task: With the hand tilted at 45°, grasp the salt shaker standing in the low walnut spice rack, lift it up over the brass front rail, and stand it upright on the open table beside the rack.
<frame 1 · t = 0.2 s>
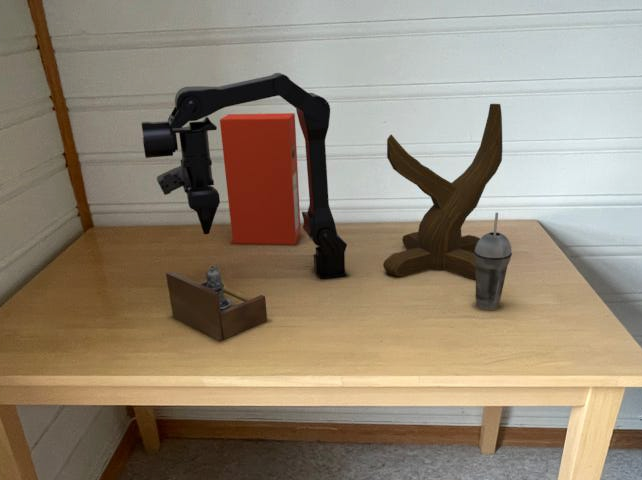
hand: (204, 227, 139), 15 cm above the table, tool pointing down, fingers open, 9 cm apart
file binder: (267, 240, 174), on the table
spice rack: (219, 319, 132), on the table
beverage cup: (487, 306, 132), on the table
wooden stand: (436, 263, 154), on the table
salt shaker: (219, 319, 132), resting in spice rack
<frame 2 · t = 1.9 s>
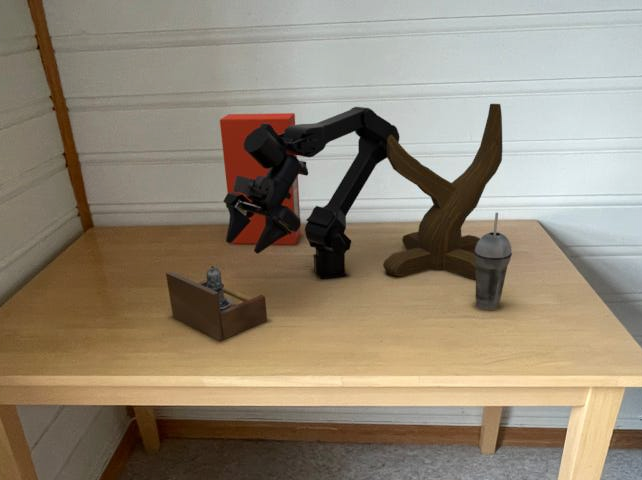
hand: (241, 247, 130), 13 cm above the table, tool tilted 45°, fingers open, 9 cm apart
nothing on the table moved.
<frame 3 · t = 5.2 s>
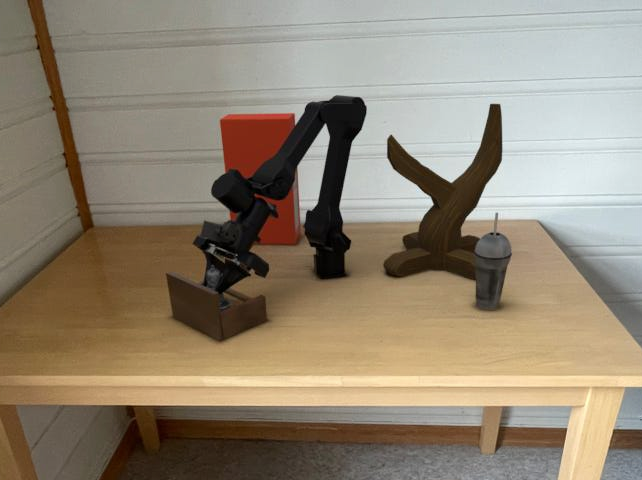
hand: (209, 292, 128), 7 cm above the table, tool tilted 45°, fingers closed on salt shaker, 3 cm apart
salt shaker: (219, 319, 132), resting in spice rack, touching gripper
everything else where it was.
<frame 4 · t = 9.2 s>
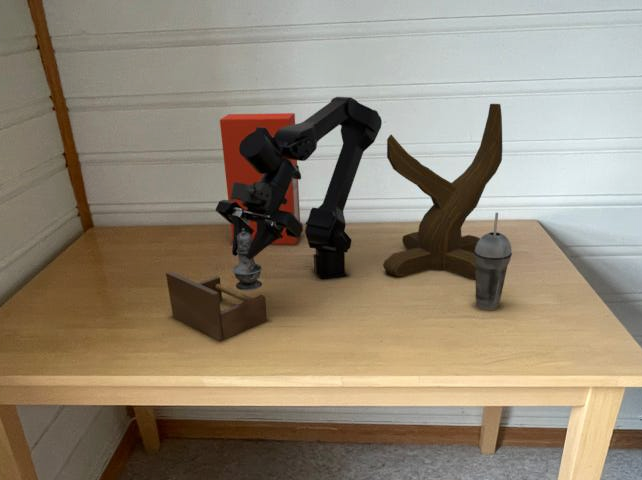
hand: (241, 256, 125), 14 cm above the table, tool tilted 45°, fingers closed on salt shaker, 3 cm apart
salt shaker: (249, 286, 129), point 7 cm above the table, touching gripper
everything else where it was.
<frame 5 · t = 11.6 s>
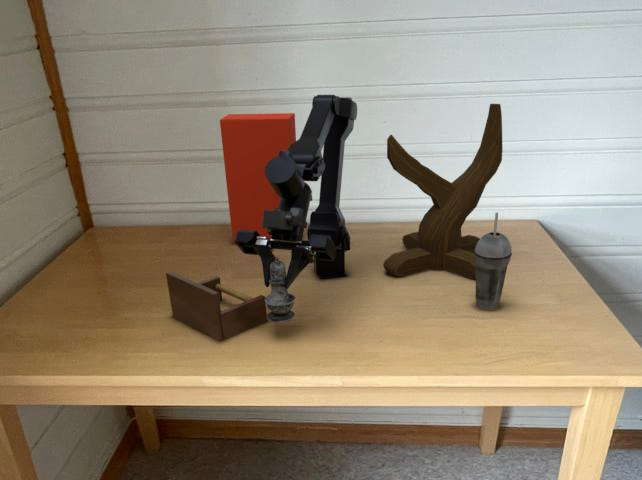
hand: (276, 287, 118), 11 cm above the table, tool tilted 45°, fingers closed on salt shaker, 3 cm apart
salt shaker: (281, 316, 123), point 4 cm above the table, touching gripper
everything else where it was.
when the fingers open (7 cm above the table, at t = 13.2 s): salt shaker stays where it is, on the table.
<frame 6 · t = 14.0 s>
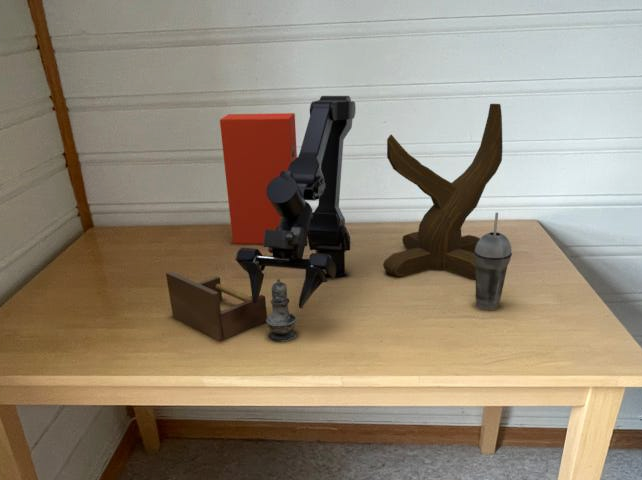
hand: (276, 305, 120), 7 cm above the table, tool tilted 45°, fingers open, 9 cm apart
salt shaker: (282, 336, 125), on the table
everything else where it was.
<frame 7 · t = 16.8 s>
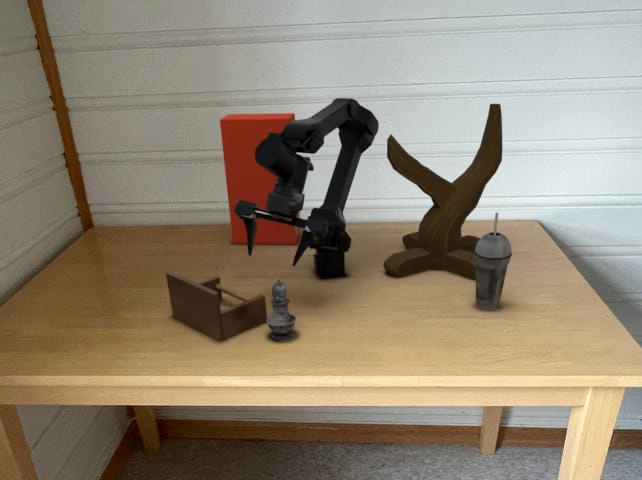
hand: (271, 260, 128), 11 cm above the table, tool tilted 30°, fingers open, 9 cm apart
nothing on the table moved.
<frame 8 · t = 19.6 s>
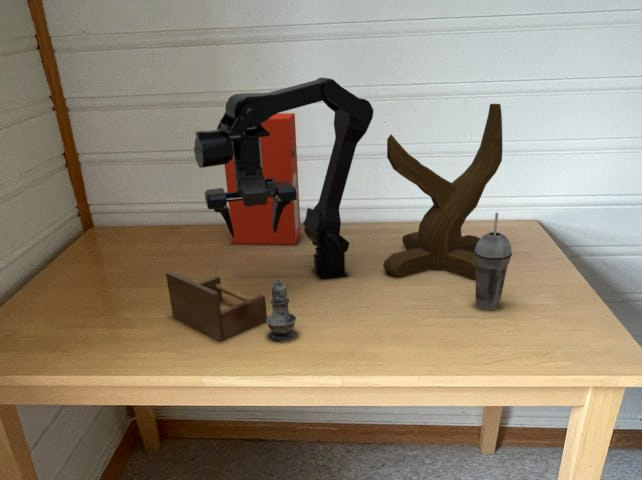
hand: (253, 234, 138), 13 cm above the table, tool pointing down, fingers open, 9 cm apart
nothing on the table moved.
at the end: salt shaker inside the target area (0.2 cm from its centre), on the table; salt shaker tilted 0°; the gripper is holding nothing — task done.
